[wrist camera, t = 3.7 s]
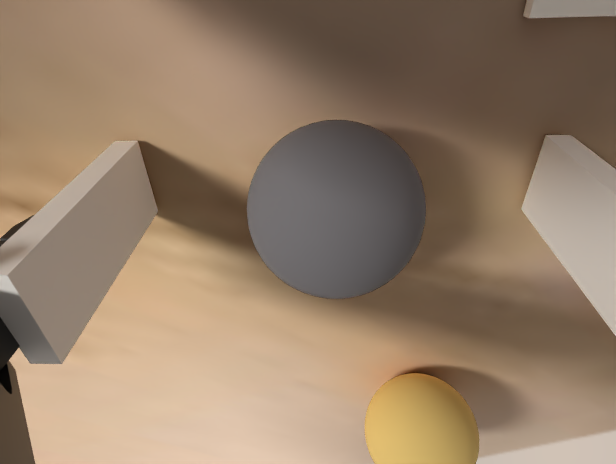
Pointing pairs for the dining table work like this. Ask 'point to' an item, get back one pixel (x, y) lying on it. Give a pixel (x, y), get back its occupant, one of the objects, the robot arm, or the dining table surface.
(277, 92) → the dining table surface
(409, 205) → the charcoal ball
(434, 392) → the ochre ball
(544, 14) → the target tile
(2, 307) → the robot arm
